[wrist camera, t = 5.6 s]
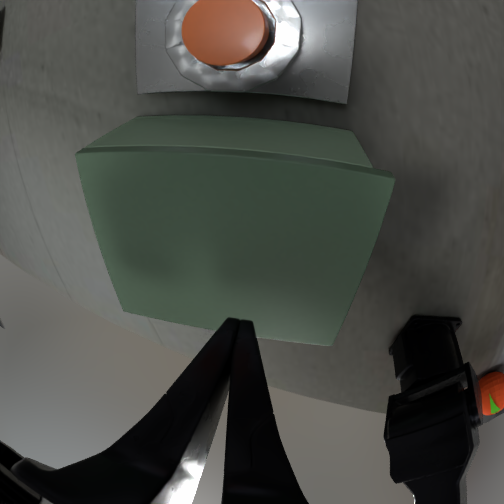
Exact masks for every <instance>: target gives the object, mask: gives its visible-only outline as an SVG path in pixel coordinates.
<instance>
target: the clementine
mask: <svg viewBox="0 0 504 504" xmlns="http://www.w3.org/2000/svg"><path fill="white" fill-rule="evenodd" d="M479 386H480V390H481V395H482V410H483V414H484V415H492V414H495V413H496V414H497V412H499V411H500V410H502V409H503V408H504V374H503V373H501V372H492V373H489V374H487V375H485V376H484V377H482V378H481V379H480V381H479Z"/></svg>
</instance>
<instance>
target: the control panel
mask: <svg viewBox="0 0 504 504" xmlns="http://www.w3.org/2000/svg"><path fill="white" fill-rule="evenodd" d="M197 1H198V0H136V16H135V51H136V80H137V94H149V93H165V92H196V91H211V92H238V93H260V94H273V95H283V96H292V97H301V98H308V99H315V100H322V101H328V102H334V103H340V104H345V105H346V104H347V100H348V93H349V86H350V78H351V70H352V61H353V53H354V43H355V33H356V21H357V8H358V0H252V1H253V2H255V3H256V4H257V6H258V7H259V8H260V9H261V10H262V11H263V12H264V14H265V15H266V17H267V20H268V23H269V36H268V40H267V42H266V44H265V46H264V47H263V49H262V50H261V51H260V52H259V53H258V54H257V55H256V56H254V57H253V58H251V59H249V60H247V61H245V62H242V63H237V64H232V65H226V66H216V65H210V64H207V63H204V62H202V61H200V60H198V59H196V58H195V57H194V56H193V55H192V54H191V53H190V52H189V51H188V50H187V48H186V46H185V44H184V42H183V39H182V24H183V20H184V17H185V15H186V13H187V12H188V10H189V9H190V8H191V7H192V6H193V5H194V4H195V3H196V2H197Z"/></svg>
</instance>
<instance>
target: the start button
mask: <svg viewBox="0 0 504 504" xmlns="http://www.w3.org/2000/svg"><path fill="white" fill-rule="evenodd" d="M268 36H269V23H268V20H267V17H266V15H265V14H264V12H263V11H262V10H261V9H260V8H259V7H258V6H257V4H256V3H255V2H253V1H252V0H198V1H197V2H196V3H195V4H194V5H193V6H192V7H191V8H190V9H189V10H188V12H187V13H186V15H185V17H184V20H183V24H182V39H183V42H184V44H185V46H186V48H187V50H188V51H189V52H190V53H191V54H192V55H193V56H194V57H195V58H196V59H198V60H200V61H202V62H204V63H207V64H210V65H216V66H226V65H232V64H237V63H242V62H245V61H247V60H249V59H251V58H253V57H254V56H256V55H257V54H258V53H259V52H260V51H261V50H262V49H263V47H264V46H265V44H266V42H267V40H268Z"/></svg>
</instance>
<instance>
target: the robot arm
mask: <svg viewBox="0 0 504 504" xmlns="http://www.w3.org/2000/svg"><path fill="white" fill-rule="evenodd" d="M461 324H462V321H461V319H460V318H444V317H429V316H413V317H412V318H411V319H410V320H409V322H408V323H407V325H406V326H405V328H404V329H403V331H402V332H401V334H400V335H399V337H398V338H397V339H396V341H395V342H394V344H393V345H392V347H391V348H390V349H389V355H393V359H394V367H395V375H396V379H397V380H400V385H401V393H399V394H396V395H395V394H394V395H391V396H389V400H388V406H387V414H386V422H385V429H384V440H385V443H386V447H387V449H388V451H389V455H390V476H391V478H392V479H393V481H394V482H395V483H396V484H397V483H402V482H403V483H404V485H405V486H406V487H407V488H408V489H409V490H410V491H411V492H412V494H413V495H414V504H467V493H466V492H467V489H466V474H467V472H468V470H469V468H470V465H471V463H472V461H473V459H474V456H475V454H476V451H477V449H478V446H479V443H480V441H479V433H478V427H479V426H481V425H483V410H482V395H481V390H480V386H479V382H478V378H477V375H476V373H475V371H474V370H473V368H472V366H471V364H470V362H467V363H465V364H463V360H462V356H461V352H460V349H459V345H458V341H457V338H456V335H455V332H456V331H457V329H458V328H459V327H460V326H461ZM467 386H468V388H467V389H465V390H464V388H465V387H467ZM228 391H229V400H228V415H227V431H226V448H225V463H224V480H223V493H222V502H221V504H309V503H308V502H307V500H306V498H305V496H304V495H303V493H302V491H301V489H300V486H299V484H298V482H297V480H296V477H295V475H294V472H293V470H292V468H291V465H290V463H289V460H288V458H287V455H286V453H285V450H284V447H283V445H282V442H281V439H280V436H279V432H278V429H277V425H276V421H275V416H274V414H273V408H272V404H271V399H270V395H269V390H268V386H267V382H266V377H265V373H264V368H263V364H262V359H261V355H260V350H259V346H258V341H257V337H256V332H255V328H254V323H253V321H252V320H246V319H241V320H240V319H238V318H232V317H228V318H227V319H226V320H225V321H224V322H223V323H222V325H221V326H220V327H219V328H218V330H217V331H216V332H215V333H214V335H213V336H212V337H211V338H210V340H209V341H208V342H207V343H206V344H205V346H204V347H203V348H202V349H201V351H200V352H199V353H198V354H197V355H196V357H195V358H194V359H193V360H192V362H191V363H190V364H189V365H188V366H187V368H186V369H185V370H184V371H183V372H182V374H181V375H180V376H179V377H178V379H177V380H176V381H175V382H174V383H173V385H172V386H171V387H170V388H169V389H168V391H167V392H166V393H167V394H164V395H163V396H162V398H161V399H160V400H159V401H158V402H157V403H156V405H155V406H154V407H153V408H152V409H151V410H150V411H149V412H148V413H147V414H146V415H145V416H144V417H143V418H142V419H141V420H140V421H139V422H138V423H137V424H136V425H134V426H133V427H132V428H131V429H130V430H129V431H128V432H127V433H126V434H124V435H123V436H122V437H121V438H120V439H119V440H117V441H116V442H115V443H114V444H113V445H112V446H110V447H109V448H107V449H106V450H104V451H103V452H101V453H99V454H97V455H94V456H92V457H89V458H87V459H85V460H82V461H79V462H77V463H74V464H71V465H68V466H66V467H63V468H60V469H55V468H52V467H49V466H47V465H44V464H42V463H39V462H38V461H35V460H33V459H30V458H24V457H23V456H21V455H20V454H19V453H17V452H16V451H15V450H13V449H12V448H11V447H9V446H8V445H6V444H5V443H3V442H2V441H0V504H191V503H192V500H193V497H194V494H195V491H196V488H197V485H198V483H199V480H200V479H199V478H200V477H201V473H202V470H203V468H204V465H205V462H206V459H207V456H208V453H209V450H210V447H211V444H212V441H213V437H214V435H215V432H216V429H217V426H218V422H219V419H220V416H221V413H222V410H223V407H224V404H225V401H226V398H227V395H228Z"/></svg>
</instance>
